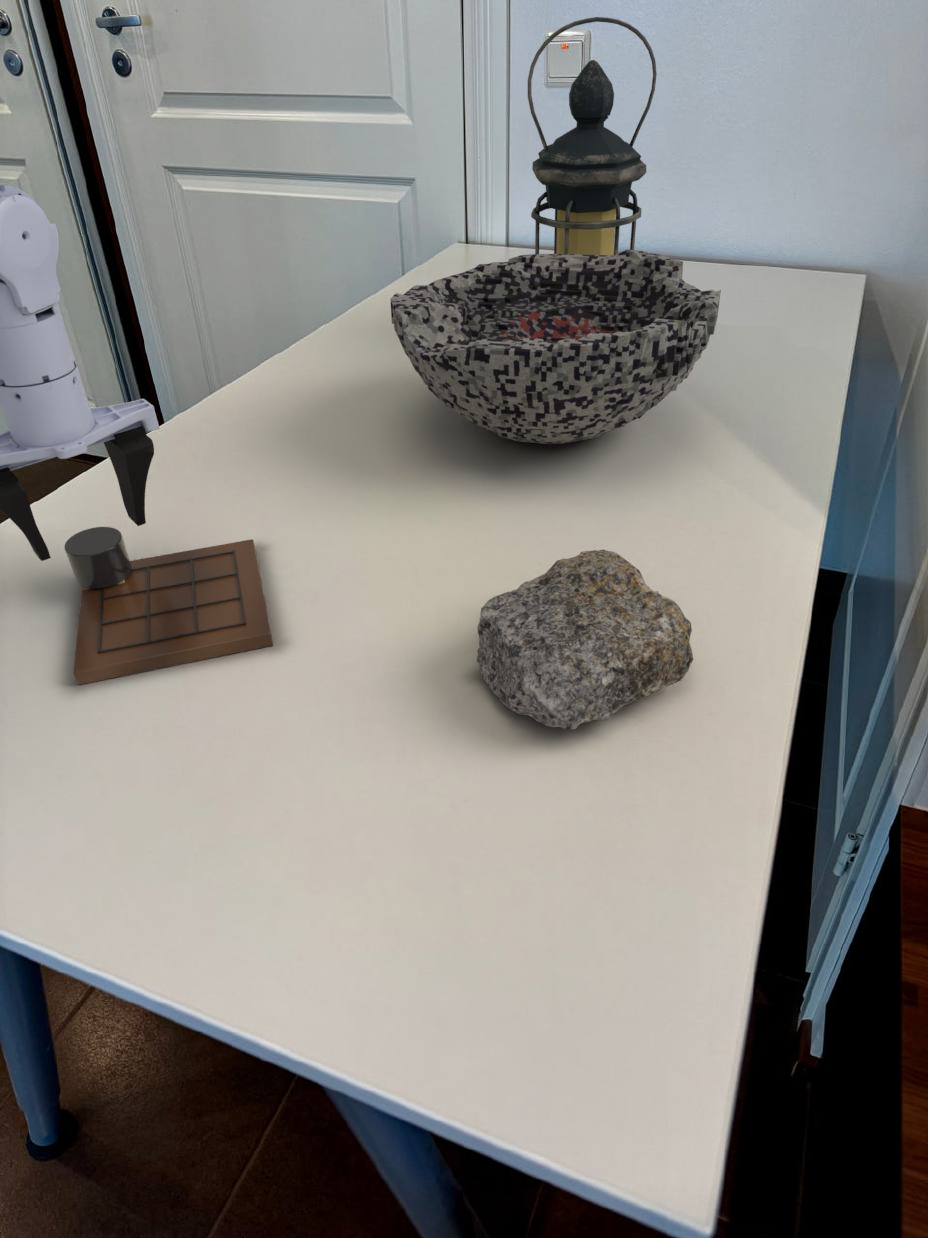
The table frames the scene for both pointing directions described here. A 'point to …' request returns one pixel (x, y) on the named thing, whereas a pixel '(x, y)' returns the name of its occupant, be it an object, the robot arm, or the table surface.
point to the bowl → (556, 341)
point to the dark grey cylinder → (98, 557)
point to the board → (173, 613)
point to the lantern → (588, 164)
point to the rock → (581, 641)
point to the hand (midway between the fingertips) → (91, 536)
